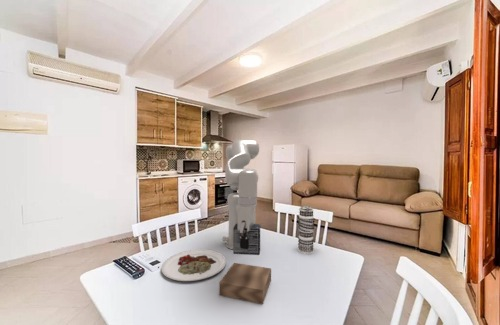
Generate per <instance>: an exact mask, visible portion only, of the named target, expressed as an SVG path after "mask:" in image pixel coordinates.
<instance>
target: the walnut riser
mask: <svg viewBox="0 0 500 325" xmlns="http://www.w3.org/2000/svg"><path fill="white" fill-rule="evenodd" d="M271 281H272V268H270V267H265V266H257V265H251V264H244V263H237V262H233V263H232V264H231V266H230V268H229V269H228V270H227V272H226V273H225V274H224V276H223V277H221V280H220V281H219V284H218V285H219V286H218V287H219V288H218V289H219V290H218V291H219V292H218V294H219V296H222V297H227V298H232V299H237V300H241V301H246V302H251V303H256V304H262V305H263V304H264V301H265V298H266V296H267V294H268V290H269V287H270V283H271Z"/></svg>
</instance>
